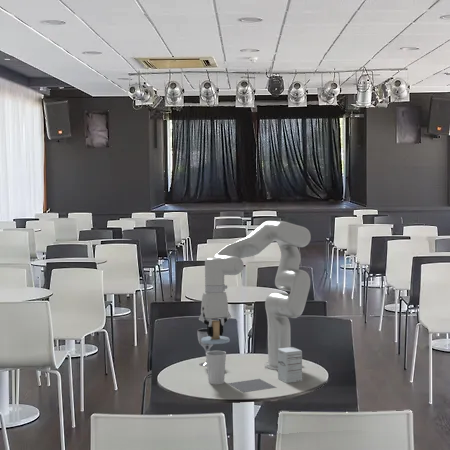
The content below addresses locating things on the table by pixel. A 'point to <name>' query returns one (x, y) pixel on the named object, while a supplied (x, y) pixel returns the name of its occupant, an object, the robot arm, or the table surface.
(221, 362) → the cup
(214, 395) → the table surface
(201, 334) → the wine glass
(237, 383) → the mat
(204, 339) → the lid
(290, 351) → the supplement box
